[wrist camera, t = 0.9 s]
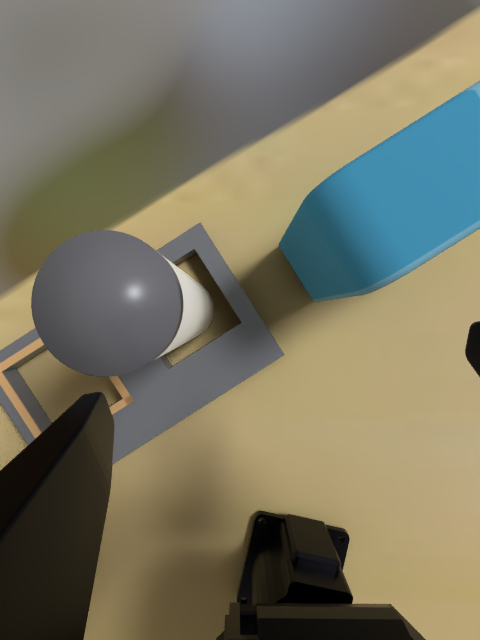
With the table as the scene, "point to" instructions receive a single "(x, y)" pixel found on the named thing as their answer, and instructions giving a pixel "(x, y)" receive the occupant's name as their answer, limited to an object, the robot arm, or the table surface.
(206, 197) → the table surface
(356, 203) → the blue box
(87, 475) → the robot arm
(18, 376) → the jack panel
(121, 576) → the table surface
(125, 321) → the white cylinder with cap
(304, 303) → the table surface
